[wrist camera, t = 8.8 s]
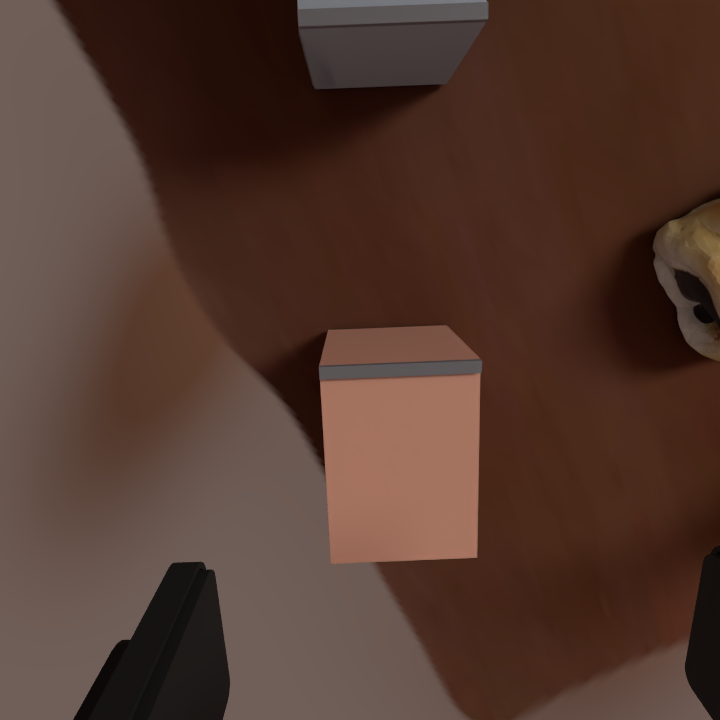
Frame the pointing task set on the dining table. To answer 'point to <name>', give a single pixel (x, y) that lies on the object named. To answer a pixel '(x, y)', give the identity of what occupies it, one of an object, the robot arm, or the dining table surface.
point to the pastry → (693, 274)
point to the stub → (400, 443)
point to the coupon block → (387, 40)
